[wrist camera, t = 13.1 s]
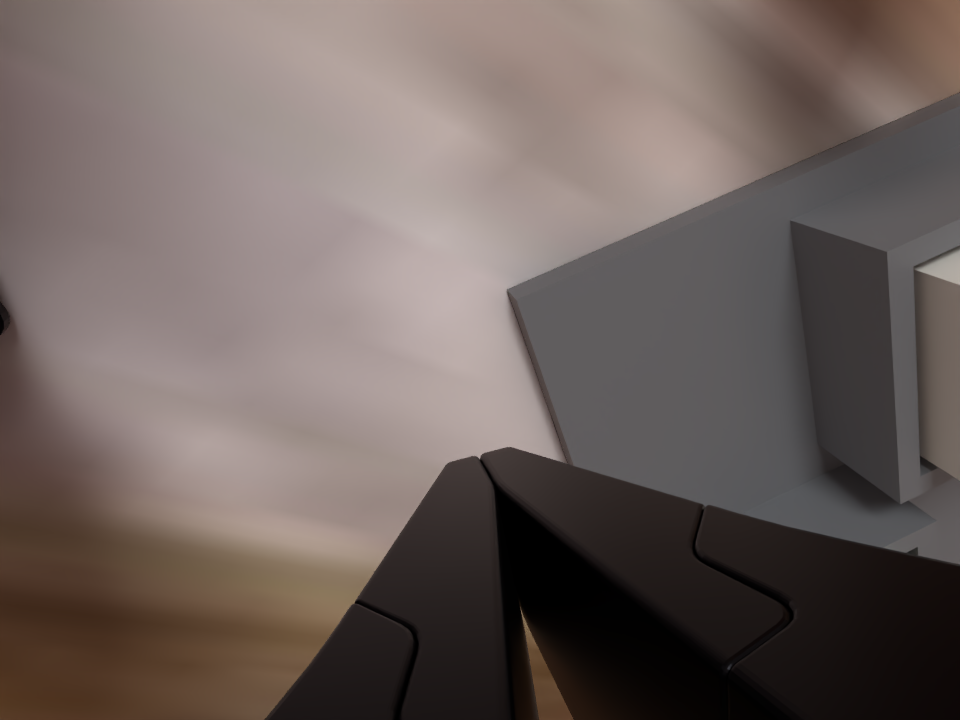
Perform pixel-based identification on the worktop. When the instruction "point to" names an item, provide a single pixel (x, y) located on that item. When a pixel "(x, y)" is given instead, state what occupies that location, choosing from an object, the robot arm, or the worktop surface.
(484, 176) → the worktop surface
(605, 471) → the board
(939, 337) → the cream block with holes
